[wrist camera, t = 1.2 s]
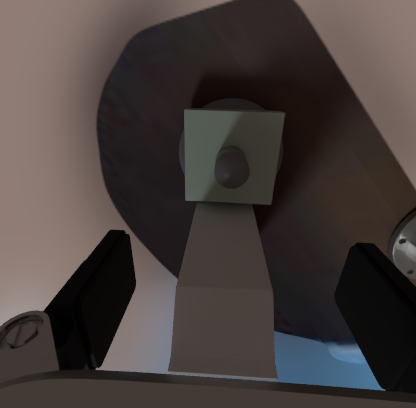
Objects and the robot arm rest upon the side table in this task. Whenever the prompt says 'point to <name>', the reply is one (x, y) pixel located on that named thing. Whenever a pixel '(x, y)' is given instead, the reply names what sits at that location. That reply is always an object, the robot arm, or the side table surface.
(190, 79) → the side table surface
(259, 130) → the square plate with knob
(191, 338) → the milk carton
